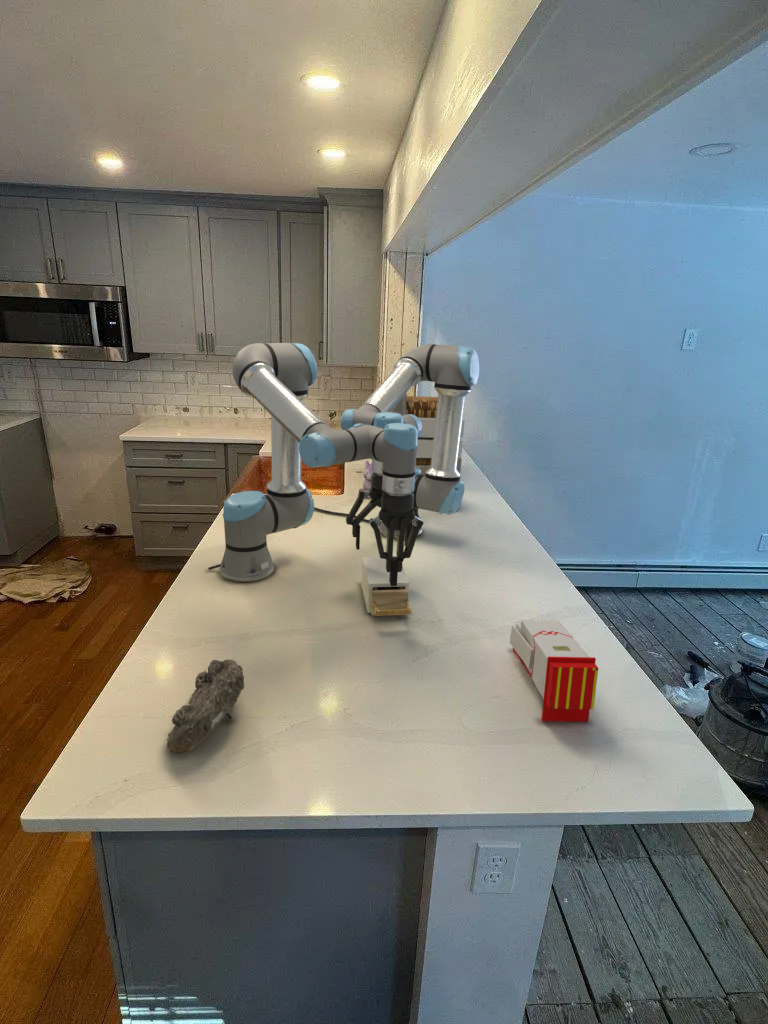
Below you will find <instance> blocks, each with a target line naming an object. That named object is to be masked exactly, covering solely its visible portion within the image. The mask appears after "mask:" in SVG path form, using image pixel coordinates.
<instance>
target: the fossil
mask: <svg viewBox="0 0 768 1024" xmlns="http://www.w3.org/2000/svg"><path fill="white" fill-rule="evenodd" d="M243 670H244V669H243V667H242V665H240V664H237V662H236V661H235V660H234V659H232V658H231V659H227V658H226V659H224V660H223V661H222V660H217V659H212V660H211V661H210V663H209V665H208V666H207V671H201V672H199V673H198V674H197V675H196V676H195V680H194V684H195V685H194V687H195V689H194V690H193V693H192V694H191V697H190V698H189V700H188V704H184V705H182V706H181V707H180V709H177V710H176V711H175V713H174V715H173V716H172V718H171V723H172V724H173V727H172V730H171V731H170V732H168V734H167V738H166V741H167V742H166V745H167V749H168V750H169V751H173V752H174V753H176V754H178V753H182V752H188V751H189V752H192V751H193V750H195V748H196V747H197V746H199V744H200V743H201V742H203V741H204V740H205V739H206V738H207V737H208V736H209V735H210V734H211V733H212V732H214V730H215V729H217V727H218V726H219V724H220V722H221V721H222V720H223V719H224V718H225V716H226V717H227V719H229V720H233V717H232V715H230V714H229V710H230V709H231V708H234V706H235V704H236V703H237V702H238V699H239V697H240V695H241V693H242V691H243V690H245V689H244V688H245V675H244V671H243Z"/></svg>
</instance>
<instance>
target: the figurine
mask: <svg viewBox="0 0 768 1024" xmlns="http://www.w3.org/2000/svg"><path fill="white" fill-rule="evenodd" d="M364 462H365V463H364V465H365V470H364V472H363V477H364V481H363V482H362V489H363V491H370V489H371V476H372V473H373V471H372V462H371V463H370V462H369V460H365V461H364ZM366 499H371V498H370V496H367V497H366Z"/></svg>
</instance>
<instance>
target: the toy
mask: <svg viewBox="0 0 768 1024" xmlns="http://www.w3.org/2000/svg"><path fill="white" fill-rule="evenodd" d="M510 630H511V631H510V638H509V644H510V646H511V647H512V651H513V653H514V654H515V656H516V657H517V659H518V660H519V662H520V663H521V665H522V667H523V668H524V669H525V671H526V672H527V674H528V675H529V676H530V678H531V680H532V681H533V683H534V685H535V687H536V688H537V690H538V692H539V694H540V696H541V698H542V699H543V701H542V709H541V719H540V720H541V722H564V723H566V722H567V723H568V722H570V723H572V722H573V723H576V722H577V723H589V720H590V719H589V718H590V711H591V710H594V708H595V699H596V692H597V683H598V681H597V680H598V675H599V674H598V673H599V667H598V666H597V664H596V662H597V661H596V660H597V657H595V656H594V657H593V656H589V655H588V653H586V651H585V650H584V649H583V648H582V646H581V645H580V644H579V643H578V641H577V640H575V638H574V636H572V634H571V633H570V632H569V630H568V629H566V627H565V626H564V625H563V624H562V623H561V621H560V620H553V619H551V620H550V619H549V620H548V619H547V620H546V619H521V620H520V621H519V622H515V625H511V629H510Z"/></svg>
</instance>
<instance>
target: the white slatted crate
mask: <svg viewBox="0 0 768 1024" xmlns="http://www.w3.org/2000/svg"><path fill="white" fill-rule="evenodd" d="M407 394H408V392H407V393H406V394H405V395H404V396H403V397H402V399H401V400H400V401H399V402H398V403H397V405H396V406H395V407H394V408H393V409H392V411H391V412H392V413H398V414H401V415H405V414H407V415H408V414H411V415H415V416H416V417H418V418H419V420H420V421H421V424H422V433H421V435H420V436H419V438H418V448H417V456H416V467H417V466H418V467H430V466H431V458H432V448H433V439H434V430H435V420H436V411H437V402H438V396H415V395H414V396H413V395H412V396H411V395H407ZM464 429H465V419H464V418H462V426H461V434H460V442H459V451H458V459H457V467H456V469H457V471H458V472H459V474H460V475H461V472H462V461H463V460H462V453H463V442H464V441H463V440H462V439H463V438H464V431H465V430H464Z"/></svg>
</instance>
